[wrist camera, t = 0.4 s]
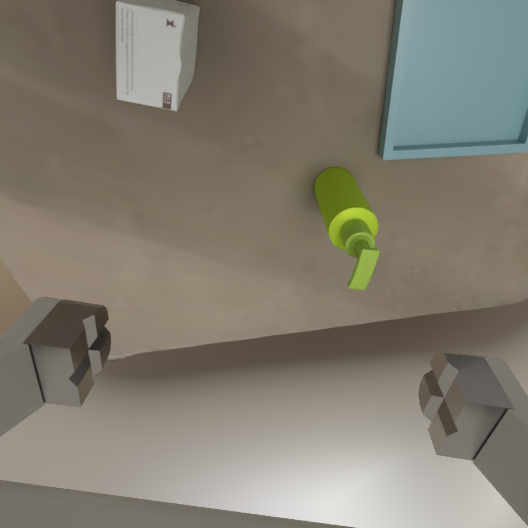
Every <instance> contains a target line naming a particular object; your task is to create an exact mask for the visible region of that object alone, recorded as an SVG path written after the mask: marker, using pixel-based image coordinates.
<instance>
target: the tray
mask: <svg viewBox="0 0 528 528" xmlns="http://www.w3.org/2000/svg"><path fill="white" fill-rule="evenodd" d="M522 152H528V0H396V6H395V15H394V23H393V31H392V40H391V48H390V57H389V65H388V73H387V82H386V90H385V98H384V107H383V115H382V124H381V132H380V140H379V149H378V155H379V156H380V157H381V158H382V160H394V159H413V158H431V157H449V156H467V155H486V154H504V153H522Z"/></svg>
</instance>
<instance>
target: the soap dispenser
mask: <svg viewBox="0 0 528 528" xmlns="http://www.w3.org/2000/svg"><path fill="white" fill-rule="evenodd" d="M314 191H315V195H316V198H317V201H318V204H319V207H320V210H321V213H322V216H323V219H324V222H325V225H326V228H327V231H328V234H329V237H330V240H331V242H332V243H333V244H334V245H335V246H336V247H338V248H340V249H342V250H346V252H347V253H348V254H349V255H350V256H352V257H356V258H357V262H356V265H355V268H354V271H353V274H352V276H351V279H350V281H349V283H348V288H350V289H359V290H364V289H365V288H366V286H367V284H368V282H369V280H370V278H371V276H372V273H373V271H374V268H375V265H376V262H377V259H378V256H379V253H380V251H379V249H378V248H374V246H375V239H374V237H375V236H376V234H377V231H378V221H377V218H376V217H375V215H374V213H373V211H372V210H371V208H370V206H369V204H368V203H367V201H366V199H365V197H364V196H363V194H362V192H361V190H360V189H359V187H358V185H357V183H356V182H355V180H354V178H353V176H352V175H351V173H350V172H349V171H347V170H346V169H344V168H340V167H333V168H329V169H327V170H325V171H323V172H322V173H321V174H320V175H319V176H318V177H317V179H316V181H315V185H314Z"/></svg>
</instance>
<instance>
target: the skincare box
mask: <svg viewBox="0 0 528 528" xmlns="http://www.w3.org/2000/svg"><path fill="white" fill-rule="evenodd" d="M199 11H200V7H199V6H197V5H193V4H189V3H185V2H181V1H177V0H119V1H116V91H117V99H118V100H123V101H128V102H133V103H138V104H144V105H148V106H153V107H158V108H163V109H168V110H172V111H177V110H178V108H179V106H180V104H181V102H182V100H183V98H184V96H185V93H186V92H187V90H188V87H189V85H190V83H191V82H192V80H193V76H194V70H195V61H196V51H197V37H198V19H199Z"/></svg>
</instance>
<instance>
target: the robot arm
mask: <svg viewBox="0 0 528 528" xmlns="http://www.w3.org/2000/svg"><path fill="white" fill-rule="evenodd" d="M108 319H109V317H108V311H107V308H106V307H105V306H103V305H97V304H90V303H84V302H78V301H71V300H65V299H64V300H62V299H56V298H50V297H42V298H39V299H37V300H36V301H35V302H34V303H33V304H32V305H31V306H30V307H29V308H28V310H27V311H26V312H25V313H24V314H23V315H22V316H21V317H20V318H19V319H18V320H17V321H16V322H15V323H14V324H13V325H12V326H11V327H10V328H9V329H8V330H7V331H6V332H5V333H4V334H3V335H2V336H1V337H0V436H2V435H3V434H4V433H6V432H7V431H9V430H10V429H11V428H13V427H14V426H16V425H17V424H18V423H20V422H21V421H23V420H24V419H25V418H27V417H28V416H29V415H31V414H32V413H34V412H35V411H36V410H38V409H39V408H41V407H42V406H43V405H44V403H49V404H58V405H68V406H78V407H81V406H82V404H83V403H84V401H85V399H86V397H87V396H88V394H89V392H90V390H91V389H92V387H93V385H94V382H93V375H94V374H96V373H98V372H100V371H101V370H102V369H103V367H104V366H105V364H106V362H107V359H108V356H109V353H110V349H111V334H110V332H109V331H108V330H107V329H106V327H105V324H106V323H107V321H108ZM430 364H431V366H432V369H433V370H431V371H430V372H428V373H426V374H425V375H424V376H423V378H422V381H421V383H420V388H419V402H420V406H421V409H422V412H423V414H424V415H425V416H426V417H427V418H428V419H429V420H430V421H431V422H432V423H431V424H430V426H429V428H428V431H429V433H430V437H431V440H432V443H433V445H434V448H435V451H436V454H437V455H441V456H448V457H454V458H460V459H467V460H472V461H473V463H474V464H475V466H476V467H477V468H478V469H479V470H480V471H481V472H482V474H483V475H484V476H485V477H486V478H487V479H488V481H489V482H490V483H491V484H492V485H493V486H494V487H495V489H496V490H497V491H498V492H499V493H500V494H501V495H502V497H503V498H504V499H505V500H506V501H507V502H508V504H509V505H510V506H511V507H512V508H513V509H514V510H515V512H516V513H517V514H518V515H519V516H520V517H521V519H522V520H523V521H524V522H525V523H526V524H527V525H528V396H527V394H526V393H525V391H524V390H523V388H522V387H521V385H520V383H519V382H518V380H517V379H516V377H515V376H514V374H513V373H512V371H511V369H510V368H509V366H508V365H507V363H506V362H505V361H504V360H503V359H501V358H496V357H488V356H476V355H475V356H474V355H468V354H460V353H451V352H444V351H437V352H436V353H435V354H434V355H433V357H432V359H431V361H430ZM0 528H354V527H346V526H339V525H331V524H323V523H316V522H309V521H301V520H294V519H286V518H279V517H271V516H264V515H257V514H249V513H241V512H234V511H227V510H219V509H212V508H204V507H197V506H189V505H182V504H175V503H167V502H160V501H152V500H145V499H137V498H130V497H122V496H115V495H107V494H100V493H92V492H85V491H77V490H70V489H63V488H55V487H48V486H40V485H32V484H26V483H18V482H11V481H3V480H0Z"/></svg>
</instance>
